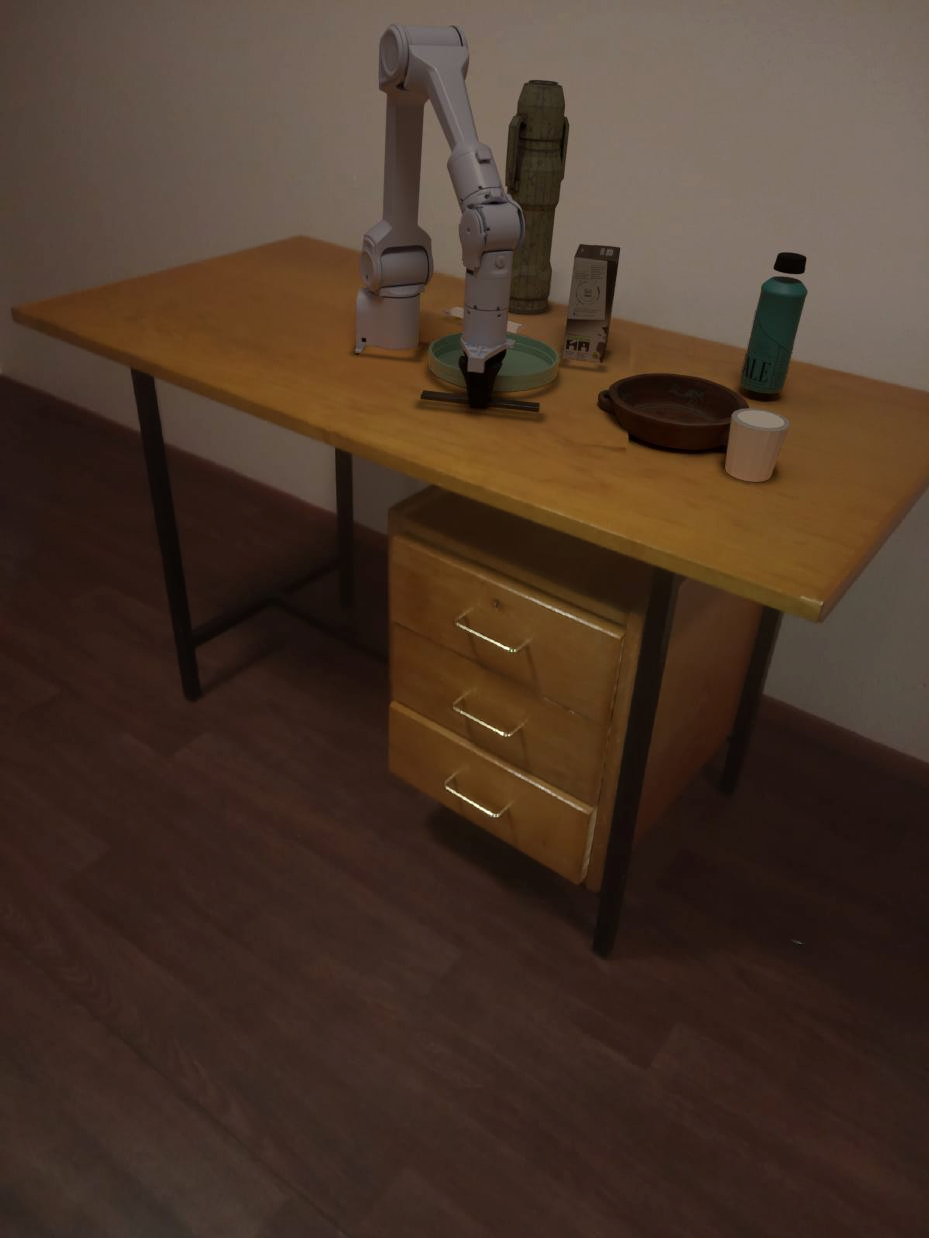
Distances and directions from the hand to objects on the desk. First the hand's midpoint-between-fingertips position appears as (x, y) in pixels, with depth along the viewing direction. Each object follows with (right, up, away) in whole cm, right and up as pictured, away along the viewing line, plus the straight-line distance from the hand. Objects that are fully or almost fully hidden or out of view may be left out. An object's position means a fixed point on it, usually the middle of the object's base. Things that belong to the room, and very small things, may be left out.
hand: (479, 406), depth 128 cm
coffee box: (+17, +12, +20) cm, 29 cm away
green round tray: (+2, +7, +12) cm, 14 cm away
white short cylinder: (+33, -11, -11) cm, 36 cm away
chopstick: (0, -1, 0) cm, 1 cm away
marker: (0, +20, +30) cm, 36 cm away
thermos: (+8, +27, +41) cm, 50 cm away
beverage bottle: (+41, +4, +11) cm, 43 cm away
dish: (+26, -4, -2) cm, 26 cm away
